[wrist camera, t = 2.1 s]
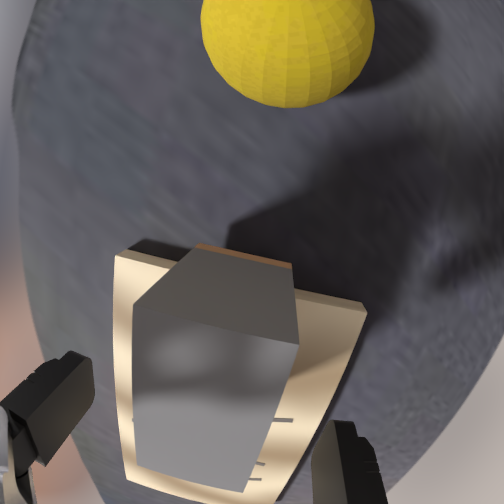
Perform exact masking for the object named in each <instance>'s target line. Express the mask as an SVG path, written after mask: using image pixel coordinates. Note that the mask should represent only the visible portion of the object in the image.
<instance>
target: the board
mask: <svg viewBox="0 0 504 504" xmlns="http://www.w3.org/2000/svg"><path fill="white" fill-rule="evenodd" d="M176 263H178V262H176V261H172V260H168V259H164V258H160V257H156V256H152V255H148V254H144V253H140V252H136V251H132V250H128V249H126V250H124V251H122V252H120V253H119V254H117V255H115V269H114V293H113V351H114V374H115V390H116V402H117V413H118V423H119V431H120V439H121V446H122V453H123V460H124V466H125V472H126V477H127V480H130V481H133V482H136V483H138V484H141V485H144V486H147V487H150V488H153V489H156V490H159V491H162V492H165V493H169V494H172V495H176V496H179V497H183V498H187V499H190V500H194V501H198V502H203V503H207V504H274V502H275V500H276V499H277V497H278V496H279V494H280V493H281V491H282V489H283V488H284V486H285V485H286V483H287V481H288V480H289V478H290V476H291V475H292V473H293V471H294V469H295V468H296V466H297V464H298V462H299V461H300V459H301V457H302V455H303V454H304V452H305V450H306V448H307V446H308V444H309V443H310V441H311V439H312V437H313V435H314V433H315V431H316V429H317V427H318V425H319V423H320V421H321V419H322V417H323V415H324V413H325V411H326V409H327V407H328V405H329V403H330V401H331V399H332V397H333V395H334V393H335V390H336V388H337V386H338V384H339V382H340V379H341V377H342V375H343V373H344V370H345V368H346V366H347V363H348V361H349V359H350V356H351V354H352V351H353V349H354V346H355V344H356V341H357V339H358V336H359V334H360V331H361V329H362V326H363V323H364V321H365V318H366V315H367V311H366V309H365V308H364V306H363V304H362V302H357V301H352V300H347V299H342V298H337V297H333V296H328V295H323V294H318V293H313V292H309V291H304V290H299V289H295V288H294V292H295V302H296V312H297V322H298V333H299V344H300V345H299V348H298V351H297V354H296V357H295V360H294V363H293V366H292V369H291V372H290V375H289V378H288V381H287V383H286V386H285V389H284V392H283V395H282V397H281V400H280V403H279V405H278V408H277V411H276V413H275V416H274V419H273V421H272V424H271V427H270V429H269V432H268V434H267V437H266V439H265V442H264V444H263V447H262V449H261V452H260V454H259V457H258V459H257V461H256V464H255V466H254V469H253V471H252V473H251V476H250V478H249V480H248V483H247V485H246V487H245V489H244V492H243V493H240V492H234V491H229V490H224V489H219V488H214V487H210V486H206V485H201V484H197V483H193V482H189V481H186V480H182V479H178V478H175V477H172V476H168V475H165V474H162V473H159V472H155V471H152V470H149V469H146V468H144V467H141V466H138V465H137V460H136V450H135V438H134V424H133V405H132V313H133V304H134V303H135V302H136V301H137V300H138V299H139V298H140V297H141V296H142V295H143V294H144V293H145V292H146V291H147V290H148V289H150V288H151V287H152V286H153V285H154V284H155V283H156V282H157V281H158V280H159V279H160V278H161V277H162V276H163V275H165V274H166V273H167V272H168V271H169V270H170V269H171V268H172V267H173V266H174V265H175V264H176Z"/></svg>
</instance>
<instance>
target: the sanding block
mask: <svg viewBox="0 0 504 504" xmlns="http://www.w3.org/2000/svg"><path fill="white" fill-rule="evenodd" d="M299 345H300V344H299V333H298V322H297V312H296V302H295V292H294V282H293V273H292V264H291V263H287V262H282V261H278V260H274V259H269V258H265V257H260V256H256V255H251V254H247V253H242V252H238V251H233V250H229V249H224V248H220V247H215V246H211V245H206V244H202V243H199V244H197V245H196V246H195V247H194V248H193V249H192V250H191V251H190V252H189V253H187V254H186V255H185V256H184V257H183V258H182V259H181V260H180V261H179V262H178V263H176V264H175V265H174V266H173V267H172V268H171V269H170V270H169V271H168V272H167V273H166V274H165V275H163V276H162V277H161V278H160V279H159V280H158V281H157V282H156V283H155V284H154V285H153V286H152V287H151V288H150V289H148V290H147V291H146V292H145V293H144V294H143V295H142V296H141V297H140V298H139V299H138V300H137V301H136V302H135V303H134V304H133V313H132V405H133V424H134V438H135V450H136V460H137V465H138V466H141V467H144V468H146V469H149V470H152V471H155V472H159V473H162V474H165V475H168V476H172V477H175V478H178V479H182V480H186V481H189V482H193V483H197V484H201V485H206V486H210V487H214V488H219V489H224V490H229V491H234V492H240V493H243V492H244V489H245V487H246V485H247V483H248V480H249V478H250V476H251V473H252V471H253V469H254V466H255V464H256V461H257V459H258V457H259V454H260V452H261V449H262V447H263V444H264V442H265V439H266V437H267V434H268V432H269V429H270V427H271V424H272V421H273V419H274V416H275V413H276V411H277V408H278V405H279V403H280V400H281V397H282V395H283V392H284V389H285V386H286V383H287V381H288V378H289V375H290V372H291V369H292V366H293V363H294V360H295V357H296V354H297V351H298V348H299Z"/></svg>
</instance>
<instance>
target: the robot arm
mask: <svg viewBox="0 0 504 504" xmlns="http://www.w3.org/2000/svg"><path fill="white" fill-rule="evenodd" d="M94 396H95V388H94V378H93V367H92V361H91V359H90V358H88V357H86V356H83V355H81V354H79V353H76V352H74V351H69V352H67V353H66V354H65V355H64V356H63V357H62V358H61V359H60V360H58V359H56V358H55V359H53V360H50V361H48V362H45V363H43V364H42V365H40V366H39V367H38V368H37V369H36V370H35V371H34V373H31V374H30V375H29V376H28V377H27V379H26V380H24V381H23V382H21V383H20V384H19V385H18V386H17V387H16V388H15V389H14V390H13V391H12V392H11V393H9V394H8V395H7V396H6V397H5V398H4V399H3V400H2V401H1V402H0V504H37V501H36V496H35V490H34V483H33V476H32V469H31V464H32V463H33V462H34V461H37V462H38V463H40V464H42V465H43V466H45V467H46V465H47V464H48V463H49V461H50V460H51V459H52V457H53V456H54V454H55V453H56V452H57V450H58V449H59V448H60V446H61V445H62V444H63V442H64V441H65V440H66V438H67V437H68V436H69V434H70V433H71V432H72V430H73V429H74V428H75V426H76V425H77V424H78V422H79V421H80V420H81V418H82V417H83V416H84V414H85V413H86V412H87V411H88V409H89V408H90V406H91V405H92V403H93V400H94ZM311 470H312V486H313V504H388V501H387V497H386V493H385V489H384V485H383V481H382V477H381V474H380V473H379V471H380V470H379V466H378V463H377V459H376V455H375V452H374V448H373V447H372V446H371V444H370V443H369V442H368V441H367V439H366V438H365V437H358V435H357V431H356V427H355V424H354V422H351V421H340V420H330V421H329V422H328V424H327V425H326V427H325V429H324V431H323V433H322V435H321V437H320V439H319V441H318V442H317V444H316V446H315V448H314V451H313V454H312V459H311Z"/></svg>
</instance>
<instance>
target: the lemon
mask: <svg viewBox="0 0 504 504" xmlns="http://www.w3.org/2000/svg"><path fill="white" fill-rule="evenodd" d="M201 27H202V35H203V43H204V46H205V49H206V51H207V53H208V55H209V57H210V59H211V62H212V64H213V66H214V67H215V69H216V70H217V71H218V72H219V73H220V75H221V76H222V77H223V78H224V79H225V80H226V82H227V83H228V84H229V85H230V86H232V87H233V88H234V89H236V90H237V91H239V92H240V93H242V94H243V95H244V96H246V97H248V98H250V99H253V100H255V101H258V102H260V103H263V104H265V105H270V106H276V107H281V108H300V107H307V106H310V105H314V104H318V103H322V102H324V101H326V100H328V99H330V98H332V97H333V96H335V95H337V94H339V93H341V92H342V91H343V90H344V89H345V88H346V87H347V86H349V85H350V84H351V83H352V82H353V81H354V80H355V79H356V78H357V77H358V75H359V74H360V72H361V70H362V69H363V67H364V65H365V63H366V61H367V59H368V58H369V55H370V52H371V48H372V42H373V36H374V28H375V24H374V16H373V10H372V4H371V1H370V0H204V2H203V6H202V11H201Z"/></svg>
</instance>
